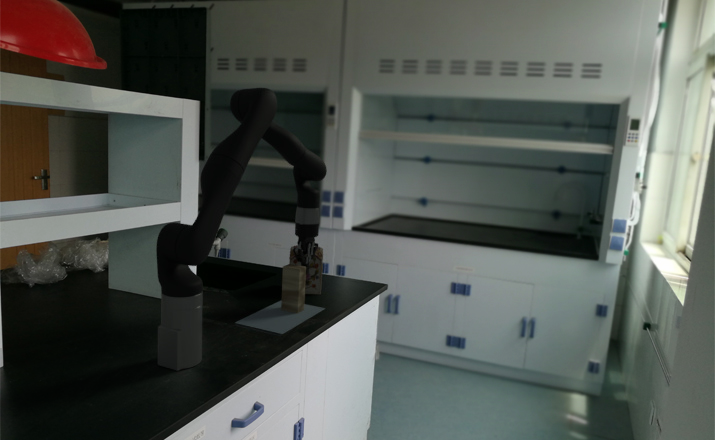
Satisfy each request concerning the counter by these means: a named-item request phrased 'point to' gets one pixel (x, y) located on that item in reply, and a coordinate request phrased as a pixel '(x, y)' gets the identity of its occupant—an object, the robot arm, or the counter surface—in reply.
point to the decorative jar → (311, 271)
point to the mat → (278, 318)
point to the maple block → (293, 288)
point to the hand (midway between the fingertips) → (304, 273)
